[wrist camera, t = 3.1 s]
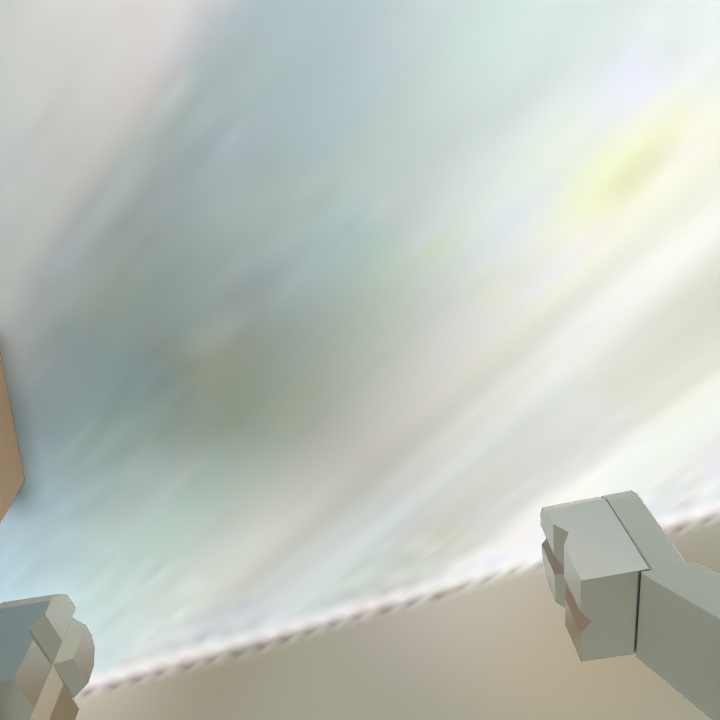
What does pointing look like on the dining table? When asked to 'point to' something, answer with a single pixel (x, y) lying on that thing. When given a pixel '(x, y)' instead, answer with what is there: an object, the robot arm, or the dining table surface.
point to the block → (8, 451)
